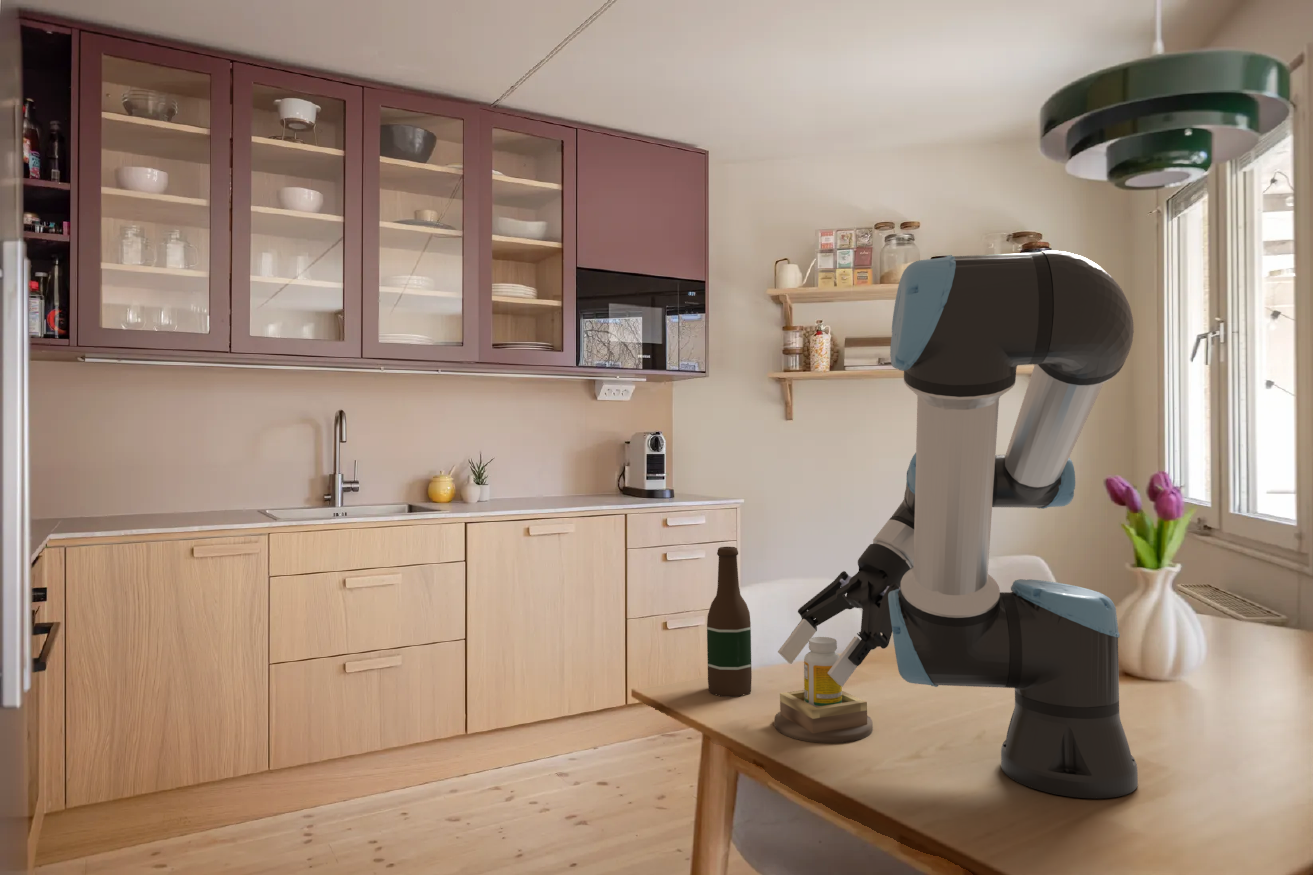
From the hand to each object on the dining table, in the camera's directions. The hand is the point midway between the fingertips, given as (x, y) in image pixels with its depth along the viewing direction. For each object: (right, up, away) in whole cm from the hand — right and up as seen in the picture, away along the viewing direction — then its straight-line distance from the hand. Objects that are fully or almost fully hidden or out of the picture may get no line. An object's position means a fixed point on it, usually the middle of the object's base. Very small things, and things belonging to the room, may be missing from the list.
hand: (808, 668), depth 125 cm
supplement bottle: (+2, -6, +1) cm, 6 cm away
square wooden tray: (+2, -9, +1) cm, 9 cm away
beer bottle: (-10, -9, +20) cm, 24 cm away
